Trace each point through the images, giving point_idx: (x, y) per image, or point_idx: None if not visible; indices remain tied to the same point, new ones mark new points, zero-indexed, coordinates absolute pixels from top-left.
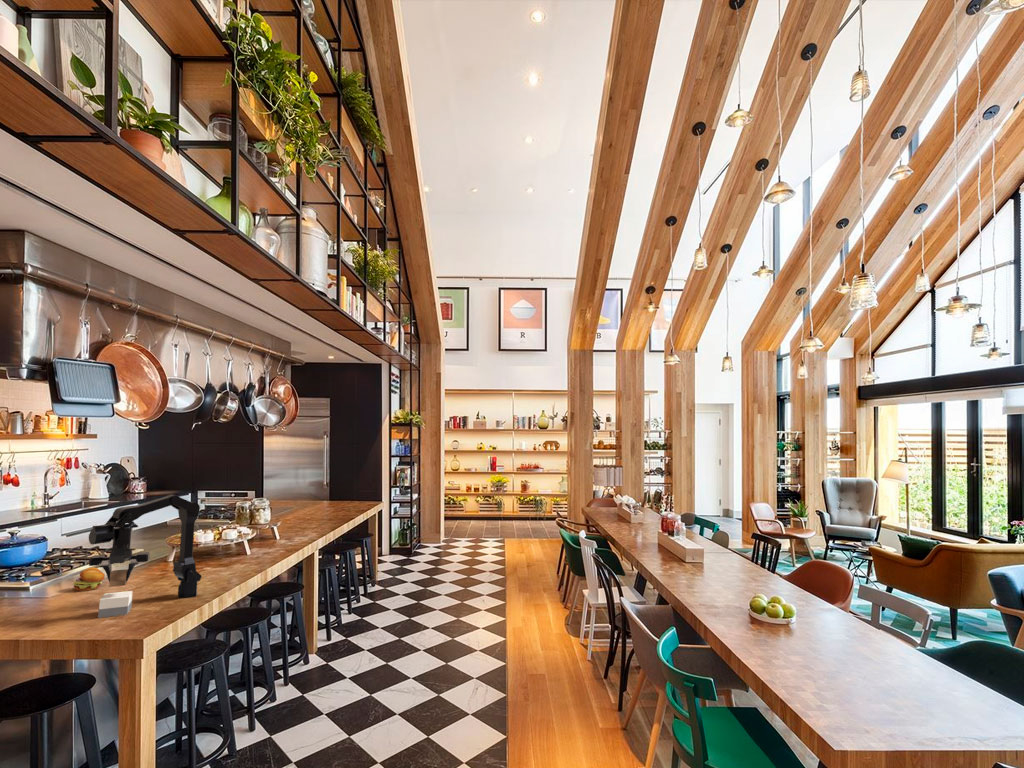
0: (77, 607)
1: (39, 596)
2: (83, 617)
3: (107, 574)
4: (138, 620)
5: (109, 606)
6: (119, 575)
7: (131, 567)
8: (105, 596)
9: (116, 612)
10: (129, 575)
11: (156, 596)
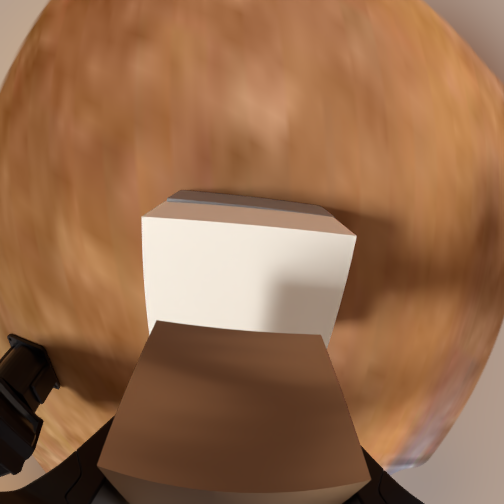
0: (366, 399)
1: (395, 466)
2: (375, 259)
3: (376, 472)
4: (127, 58)
5: (277, 213)
6: (212, 442)
7: (37, 502)
8: (315, 321)
9: (232, 198)
10: (101, 427)
11: None
